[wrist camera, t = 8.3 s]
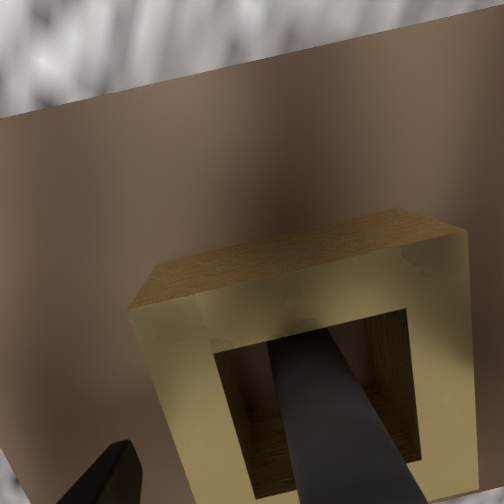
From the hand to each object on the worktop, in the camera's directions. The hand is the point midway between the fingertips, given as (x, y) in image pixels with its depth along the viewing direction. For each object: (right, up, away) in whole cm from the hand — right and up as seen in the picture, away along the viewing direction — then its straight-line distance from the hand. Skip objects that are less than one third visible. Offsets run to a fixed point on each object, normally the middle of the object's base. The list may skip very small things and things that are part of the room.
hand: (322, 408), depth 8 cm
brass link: (0, +1, +3) cm, 3 cm away
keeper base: (0, +1, +4) cm, 4 cm away
